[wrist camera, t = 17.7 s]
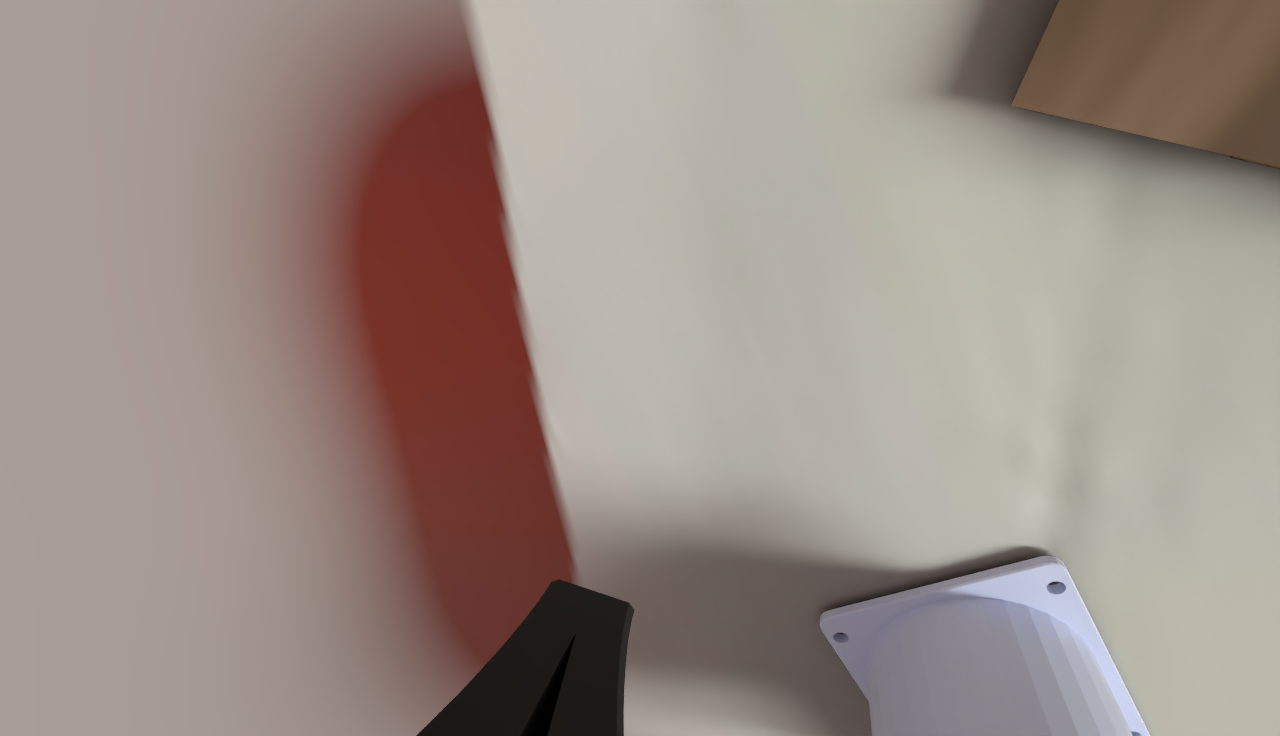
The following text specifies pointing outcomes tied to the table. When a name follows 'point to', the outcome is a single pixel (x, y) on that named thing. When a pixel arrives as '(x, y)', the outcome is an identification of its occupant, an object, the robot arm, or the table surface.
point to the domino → (1165, 71)
